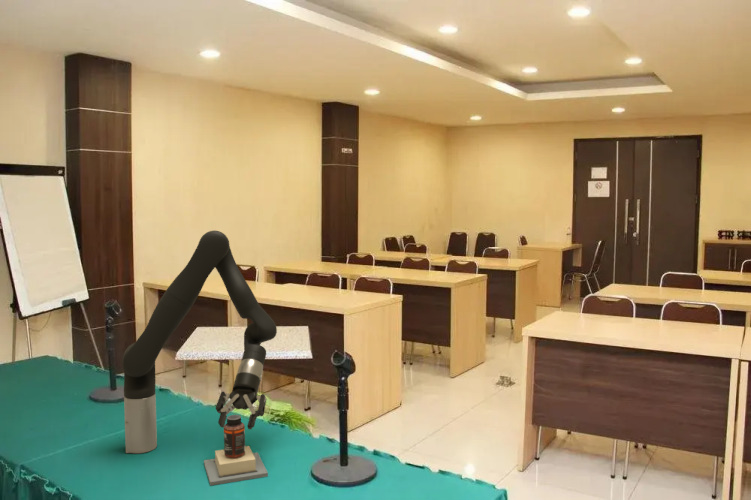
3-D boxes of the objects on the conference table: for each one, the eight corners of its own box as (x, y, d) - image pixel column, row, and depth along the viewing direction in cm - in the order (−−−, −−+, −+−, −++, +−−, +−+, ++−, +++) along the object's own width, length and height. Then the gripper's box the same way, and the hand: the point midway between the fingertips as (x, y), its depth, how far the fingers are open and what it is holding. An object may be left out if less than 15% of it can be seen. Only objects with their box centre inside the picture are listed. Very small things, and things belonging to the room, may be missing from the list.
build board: (210, 485, 175) (209, 470, 174) (203, 463, 188) (203, 448, 188) (267, 476, 180) (267, 461, 180) (257, 455, 194) (257, 441, 194)
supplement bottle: (249, 452, 186) (248, 414, 185) (238, 460, 180) (237, 421, 179) (231, 449, 188) (230, 412, 187) (220, 457, 182) (219, 419, 181)
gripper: (223, 370, 192) (208, 420, 182) (268, 372, 190) (255, 423, 180) (229, 381, 198) (215, 431, 188) (273, 384, 196) (261, 434, 186)
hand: (235, 427), depth 184 cm, fingers open, 8 cm apart
